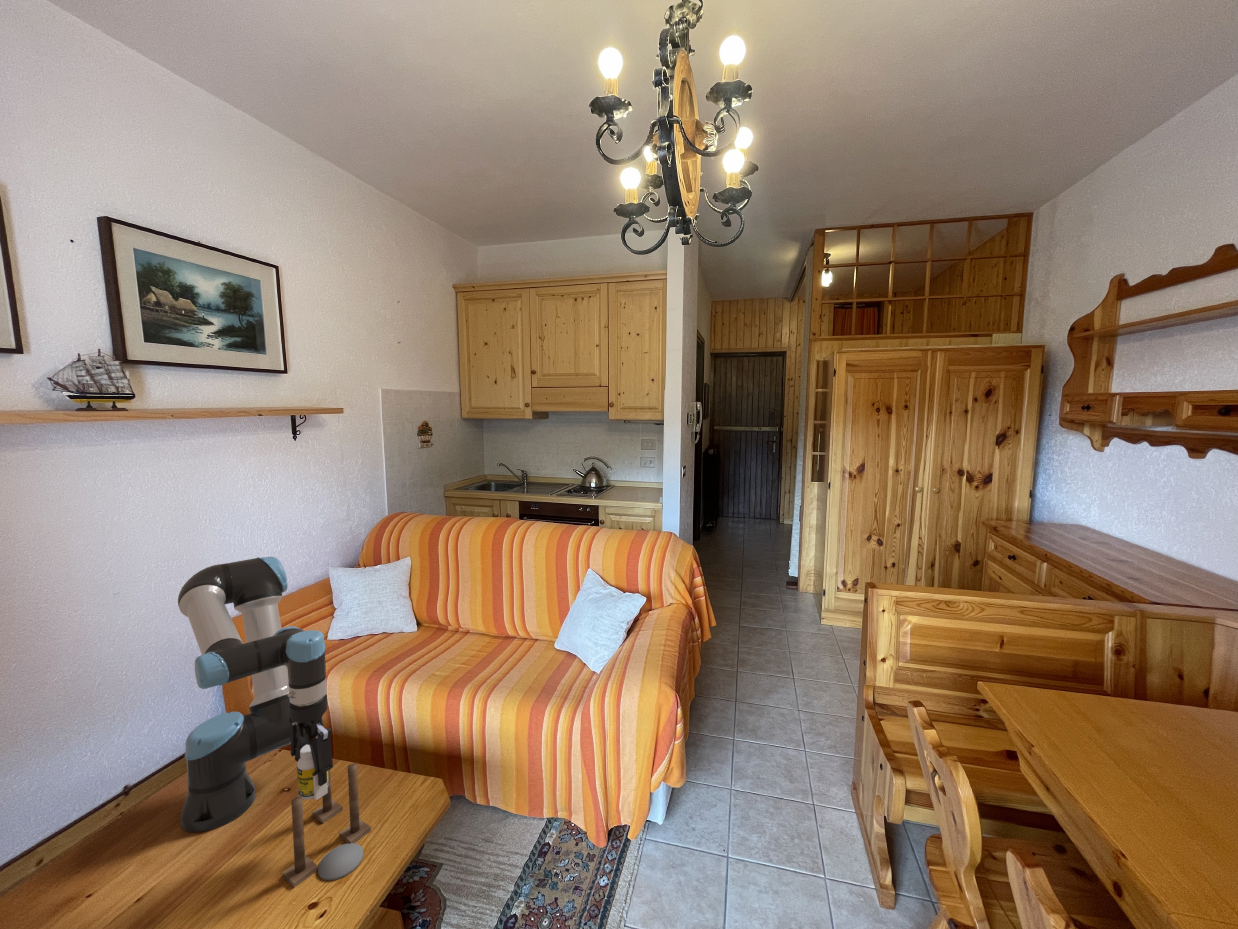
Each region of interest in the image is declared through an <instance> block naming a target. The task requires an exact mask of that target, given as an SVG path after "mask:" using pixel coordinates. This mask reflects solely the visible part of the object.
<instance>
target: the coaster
mask: <svg viewBox="0 0 1238 929" xmlns="http://www.w3.org/2000/svg"><path fill="white" fill-rule="evenodd" d="M363 858H364V849H363V847H362V846H361V845H360V844H359V843H356V842H355V843H344V844H341V845H338V846H336V847H335V848H333V849H331V850H330V851H329V852H328V853H326V854H325V855H324V856H323V858H321V860H320V862H319V864H318V870H317V873H318V876H319V877H320V879H322V880H324V881H335V880H339V879H342V878H345V877H346V876H348V875H350V874H351V873H352V872H354V871H355V870H356V869H357V868H358V867H359V866H360V865H361V863H362V861H363Z"/></svg>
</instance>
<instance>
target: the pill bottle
mask: <svg viewBox="0 0 1238 929" xmlns="http://www.w3.org/2000/svg"><path fill="white" fill-rule="evenodd" d="M300 757H301V758H300V759H299V760H298V762H296V771H297V772H296V774H297V775H296V776H297V790H298V792H297V793H298V796H301V797H302V800H305V801H306V800H313V799H314V784H313V775H312V773H314V772H315V768H314V763H313V758H312V754H311V749H310V745H305V746H304V747H302V748H301V750H300ZM328 785H329V781H328V771H327V787H328Z"/></svg>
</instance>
